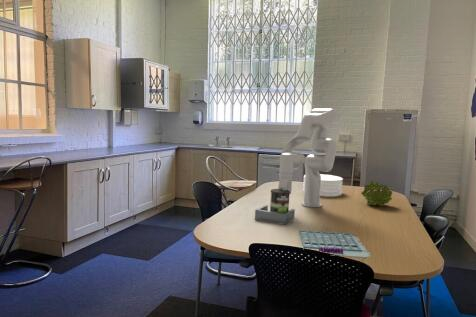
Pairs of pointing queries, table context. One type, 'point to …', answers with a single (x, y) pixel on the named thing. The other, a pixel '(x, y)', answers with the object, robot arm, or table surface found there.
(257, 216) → the can holder bay
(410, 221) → the table surface
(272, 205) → the coffee can
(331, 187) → the plate stack
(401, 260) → the table surface
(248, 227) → the table surface
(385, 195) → the green bumpy round lump
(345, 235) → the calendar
